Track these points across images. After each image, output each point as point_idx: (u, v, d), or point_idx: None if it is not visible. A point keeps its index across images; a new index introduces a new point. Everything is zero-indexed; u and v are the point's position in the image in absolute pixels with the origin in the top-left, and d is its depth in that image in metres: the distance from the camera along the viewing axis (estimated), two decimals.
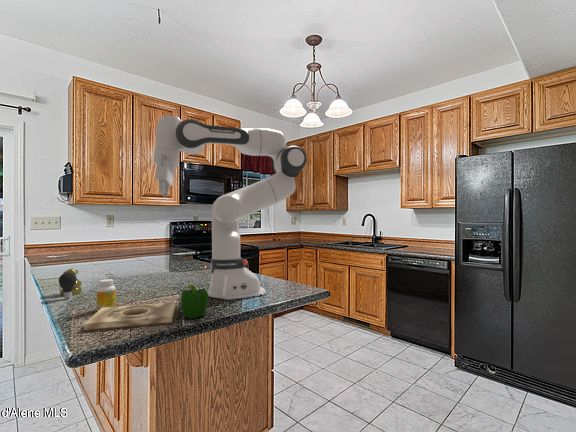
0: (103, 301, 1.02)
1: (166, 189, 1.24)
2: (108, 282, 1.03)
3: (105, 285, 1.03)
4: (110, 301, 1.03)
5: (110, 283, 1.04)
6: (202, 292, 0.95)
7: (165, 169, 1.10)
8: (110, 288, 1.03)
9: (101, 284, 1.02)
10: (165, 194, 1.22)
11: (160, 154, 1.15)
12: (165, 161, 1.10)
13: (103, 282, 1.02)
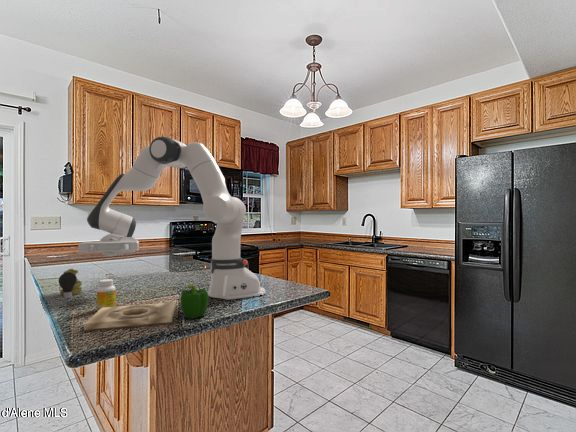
0: (103, 301, 1.02)
1: None
2: (108, 282, 1.03)
3: (105, 285, 1.03)
4: (110, 301, 1.03)
5: (110, 283, 1.04)
6: (202, 292, 0.95)
7: None
8: (110, 288, 1.03)
9: (101, 284, 1.02)
10: (121, 246, 1.18)
11: None
12: None
13: (103, 282, 1.02)
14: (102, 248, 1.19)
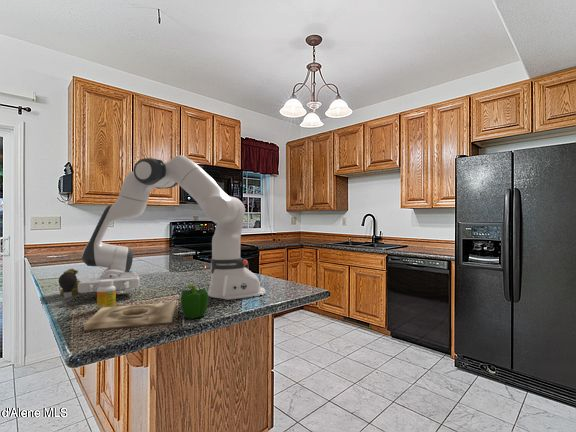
0: (103, 301, 1.02)
1: None
2: (108, 282, 1.03)
3: (105, 285, 1.03)
4: (110, 301, 1.03)
5: (110, 283, 1.04)
6: (202, 292, 0.95)
7: None
8: (110, 288, 1.03)
9: (101, 284, 1.02)
10: (121, 285, 1.15)
11: None
12: None
13: (103, 282, 1.02)
14: None
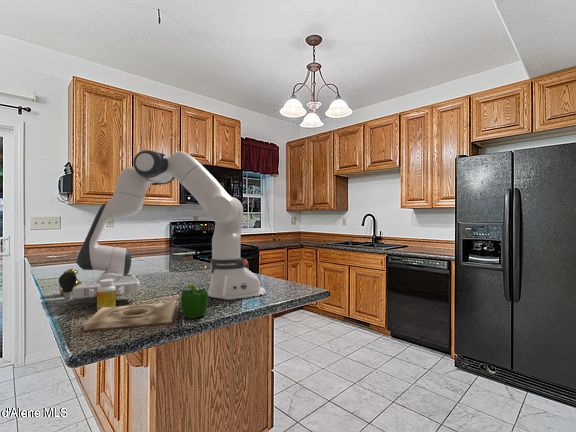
0: (103, 301, 1.02)
1: None
2: (108, 282, 1.03)
3: (105, 285, 1.03)
4: (110, 301, 1.03)
5: (110, 283, 1.04)
6: (202, 292, 0.95)
7: None
8: (110, 288, 1.03)
9: (101, 284, 1.02)
10: None
11: None
12: None
13: (103, 282, 1.02)
14: None
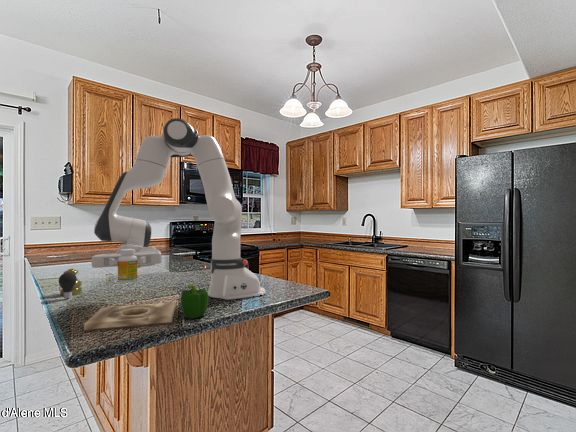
0: (125, 271, 0.95)
1: None
2: (130, 251, 0.96)
3: (126, 254, 0.96)
4: (132, 271, 0.96)
5: (132, 252, 0.97)
6: (202, 292, 0.95)
7: None
8: (132, 258, 0.96)
9: (122, 253, 0.96)
10: (137, 260, 0.98)
11: None
12: None
13: (124, 251, 0.96)
14: None
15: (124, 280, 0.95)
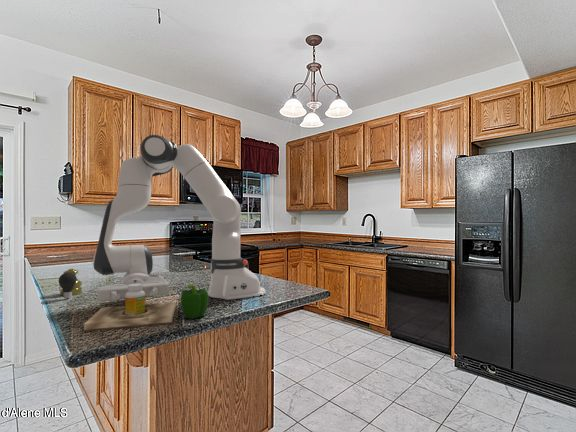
0: (133, 308, 0.92)
1: None
2: (138, 287, 0.94)
3: (134, 290, 0.93)
4: (140, 307, 0.93)
5: (140, 288, 0.94)
6: (202, 292, 0.95)
7: None
8: (140, 293, 0.94)
9: (130, 289, 0.93)
10: (149, 293, 0.96)
11: None
12: None
13: (132, 287, 0.93)
14: None
15: None
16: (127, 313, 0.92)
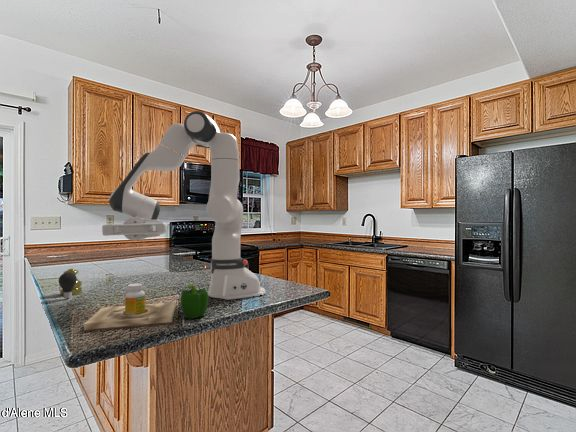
0: (133, 308, 0.92)
1: None
2: (138, 287, 0.94)
3: (134, 290, 0.93)
4: (140, 307, 0.93)
5: (140, 288, 0.94)
6: (202, 292, 0.95)
7: None
8: (140, 293, 0.94)
9: (130, 289, 0.93)
10: (148, 228, 1.08)
11: None
12: None
13: (132, 287, 0.93)
14: (127, 230, 1.10)
15: None
16: (127, 313, 0.92)
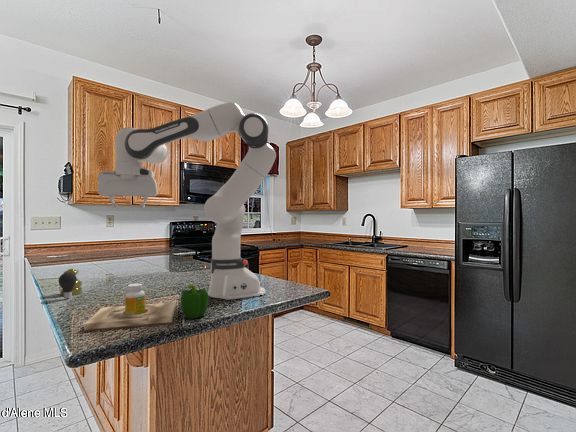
0: (133, 308, 0.92)
1: (144, 200, 1.20)
2: (138, 287, 0.94)
3: (134, 290, 0.93)
4: (140, 307, 0.93)
5: (140, 288, 0.94)
6: (202, 292, 0.95)
7: None
8: (140, 293, 0.94)
9: (130, 289, 0.93)
10: None
11: None
12: None
13: (132, 287, 0.93)
14: None
15: None
16: (127, 313, 0.92)
